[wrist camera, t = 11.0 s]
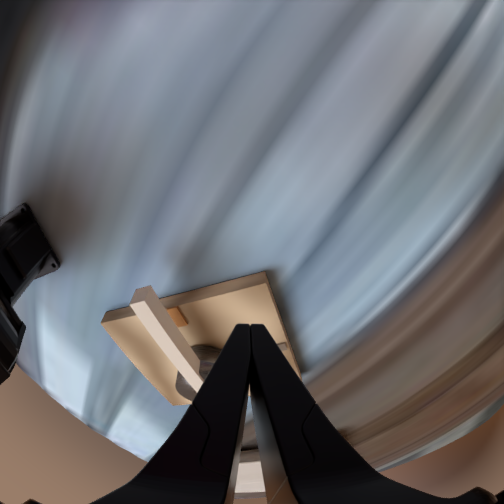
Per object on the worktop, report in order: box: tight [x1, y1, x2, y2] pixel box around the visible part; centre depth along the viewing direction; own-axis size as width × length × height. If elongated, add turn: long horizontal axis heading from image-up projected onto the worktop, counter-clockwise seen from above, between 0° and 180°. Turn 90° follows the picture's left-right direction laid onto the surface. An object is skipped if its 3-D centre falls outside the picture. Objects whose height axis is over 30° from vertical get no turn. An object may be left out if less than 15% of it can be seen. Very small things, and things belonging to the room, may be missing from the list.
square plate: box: [235, 449, 265, 493], centre depth 45 cm, size 27×27×4 cm
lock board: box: [101, 271, 302, 406], centre depth 26 cm, size 15×14×2 cm
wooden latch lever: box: [129, 285, 222, 401], centre depth 22 cm, size 13×5×3 cm, turn 18°
